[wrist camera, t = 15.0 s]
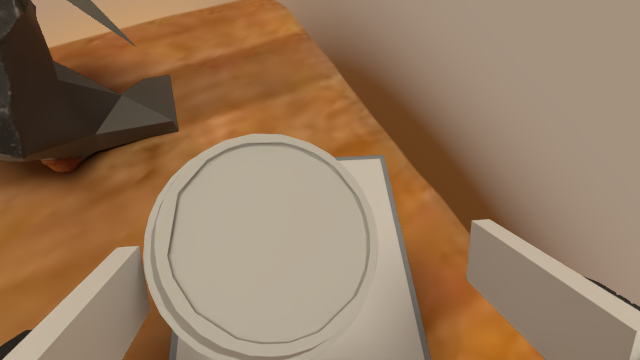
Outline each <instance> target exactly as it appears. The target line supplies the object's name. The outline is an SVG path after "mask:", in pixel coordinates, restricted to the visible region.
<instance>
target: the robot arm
mask: <svg viewBox="0 0 640 360" xmlns="http://www.w3.org/2000/svg"><path fill="white" fill-rule="evenodd" d="M466 280H467V281H468V282H469V283H470V284H471V285H472V286H473V287H474V288H475V289H476V290H477V291H478V292H479V293H480V294H481V295H482V296H483V297H484V298H485V299H486V300H487V301H488V302H489V303H490V304H491V305H492V306H493V307H494V308H495V309H496V310H497V311H498V312H499V313H500V314H501V315H502V316H503V317H504V318H505V319H506V320H507V321H508V322H509V323H510V324H511V325H512V326H513V327H514V328H515V329H516V330H517V331H518V332H519V333H520V334H521V335H522V336H523V337H524V338H525V339H526V340H527V341H528V342H529V343H530V344H531V345H532V346H533V347H534V348H535V349H536V350H537V351H538V352H539V353H540V354H541V355H542V356H543V357H544V358H545V359H546V360H640V307H639V306H637V305H636V304H631V303H630V301H629V300H627V299H626V298H624V297H622V296H620V295H617V294H616V292H614V291H612V290H611V289H609V288H607V287H606V286H604V285H602V284H600V283H599V282H596V281H594V280H591V279H589V278H586V277H584V276H581V275H580V274H578V273H576V272H575V271H573V270H571V269H570V268H568V267H567V266H565V265H563V264H561V263H560V262H558V261H557V260H555V259H553V258H552V257H550V256H548V255H547V254H545V253H543V252H542V251H540V250H539V249H537V248H535V247H534V246H532V245H530V244H529V243H527V242H526V241H524V240H522V239H521V238H519V237H517V236H516V235H514V234H512V233H511V232H509V231H507V230H506V229H504V228H503V227H501V226H499V225H498V224H496V223H494V222H493V221H491V220H490V219H487V220H473V221H472V224H471V234H470V244H469V255H468V265H467V275H466ZM150 311H151V308H150V303H149V297H148V292H147V287H146V281H145V276H144V271H143V265H142V260H141V255H140V249H139V246H132V247H119V248H116V249H115V250H114V251H113V252H112V253H111V254H110V255H109V256H108V257H107V258H106V259H105V260H104V261H103V262H102V263H101V264H100V265H99V266H98V267H97V268H96V269H95V270H94V271H93V272H92V273H91V274H90V275H89V276H88V277H87V278H85V279H84V280H83V281H82V282H81V283H80V284H79V285H78V286H77V287H76V288H75V289H74V290H73V291H72V292H71V293H70V294H69V295H68V296H67V297H66V298H65V299H64V300H63V301H62V302H61V303H60V304H59V305H58V306H57V307H56V308H55V309H54V310H53V311H52V312H51V313H50V314H49V315H48V316H47V317H46V318H45V319H44V320H42V321H41V322H40V323H39V324H38V325H37V326H36V327H35V328H34V329H33V330H26V331H24V332H22V333H21V334H19V335H17V336H16V337H14V338H13V339H11V340H10V341H8V342H6V343H5V344H3V345H2V346H1V347H0V360H122V359H123V357H124V355H125V354H126V352H127V350H128V349H129V347H130V345H131V343H132V342H133V340H134V338H135V336H136V335H137V333H138V331H139V330H140V328H141V326H142V324H143V323H144V321H145V319H146V317H147V316H148V314H149V312H150Z"/></svg>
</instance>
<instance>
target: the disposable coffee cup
mask: <svg viewBox="0 0 640 360" xmlns="http://www.w3.org/2000/svg"><path fill="white" fill-rule="evenodd" d="M377 257H378V236H377V227H376V223H375V219H374V215H373V211H372V208H371V206H370V204H369V202H368V200H367V198H366V196H365V194H364V192H363V190H362V188H361V187H360V185H359V184H358V182H357V181H356V180H355V178H354V177H353V175H352V174H351V173H350V172H349V171H348V170H347V169H346V168H345V167H344V166H343V165H342V164H341V163H340V162H339V161H337V160H336V159H335V158H334V157H333V156H331V155H330V154H329V153H327V152H325V151H324V150H322V149H320V148H318V147H316V146H314V145H312V144H311V143H309V142H306V141H303V140H299V139H296V138H292V137H289V136H285V135H280V134H250V135H245V136H241V137H237V138H233V139H229V140H225V141H222V142H220V143H218V144H217V145H215V146H213V147H211V148H209V149H207V150H206V151H204V152H202V153H200V154H199V155H198V156H196V157H195V158H193V159H191V160H190V161H188V162H187V163H186V164H185V165H184V166H183V167H182V168H181V169H180V170H179V171H178V172H176V173H175V174H174V175H173V176H172V177H171V179H170V180H169V182H168V183H167V184H166V186H165V187H164V189H163V190H162V191H161V193H160V194H159V196H158V198H157V200H156V202H155V204H154V207H153V209H152V211H151V213H150V216H149V220H148V224H147V228H146V231H145V239H144V255H143V259H144V268H145V276H146V279H147V283H148V286H149V290H150V293H151V295H152V297H153V299H154V302H155V304H156V306H157V308H158V310H159V312H160V314H161V316H162V317H163V318H164V319H165V321H166V322H167V323H168V324H169V326H170V327H171V328H172V329H173V331H174V332H175V333H176V334H177V335H178V336H179V337H180V338H181V339H183V340H184V341H185V342H186V343H187V344H189V345H190V346H191V347H192V348H194V349H195V350H196V351H197V352H199V353H201V354H203V355H206V356H208V357H210V358H212V359H214V360H306V359H308V358H310V357H312V356H314V355H316V354H318V353H320V352H322V351H323V350H324V349H326V348H327V347H328V346H330V345H331V344H333V343H334V342H335V341H336V340H337V339H338V338H339V337H340V336H341V335H342V334H343V333H344V332H345V331H346V330H347V329H348V328H349V327H350V326H351V324H352V323H353V321H354V320H355V318H356V317H357V315H358V314H359V312H360V310H361V308H362V306H363V304H364V302H365V300H366V298H367V296H368V292H369V290H370V287H371V285H372V282H373V279H374V276H375V271H376V265H377Z"/></svg>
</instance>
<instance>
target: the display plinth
mask: <svg viewBox="0 0 640 360" xmlns="http://www.w3.org/2000/svg"><path fill="white" fill-rule="evenodd" d="M334 158H335V159H336V160H337V161H339V162H340V163H341V164H342V165H343V166H344V167H345V168H346V169H347V170H348V171H349V172H350V173H351V174H352V175H353V177H354V178H355V180H356V181H357V182H358V184H359V185H360V187H361V188H362V190H363V192H364V194H365V196H366V198H367V200H368V202H369V204H370V206H371V208H372V211H373V215H374V219H375V223H376V227H377V236H378V257H377V265H376V271H375V276H374V279H373V282H372V285H371V287H370V290H369V292H368V296H367V298H366V300H365V302H364V304H363V306H362V308H361V310H360V312H359V314H358V315H357V317H356V318H355V320H354V321H353V323H352V324H351V326H350V327H349V328H348V329H347V330H346V331H345V332H344V333H343V334H342V335H341V336H340V337H339V338H338V339H337V340H336V341H335V342H334V343H333V344H331V345H330V346H328V347H327V348H326V349H324V350H323V351H322V352H320V353H318V354H316V355H314V356H312V357H310V358H308V359H306V360H431V357H430V353H429V349H428V344H427V340H426V336H425V331H424V327H423V323H422V318H421V314H420V310H419V305H418V301H417V297H416V292H415V288H414V284H413V279H412V275H411V271H410V266H409V262H408V258H407V253H406V249H405V245H404V240H403V236H402V232H401V227H400V223H399V219H398V214H397V210H396V206H395V201H394V197H393V193H392V188H391V184H390V180H389V176H388V171H387V167H386V163H385V158H384V155H375V156H354V157H334ZM169 360H214V359H212V358H210V357H208V356H206V355H203V354H201V353H199V352H197V351H196V350H195V349H194V348H192V347H191V346H190V345H189V344H187V343H186V342H185V341H184V340H183V339H181V338H180V337H179V336H178V335H177V334H176V333H175V332H174V331H173V329H172V337H171V346H170V355H169Z"/></svg>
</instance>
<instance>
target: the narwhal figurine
mask: <svg viewBox="0 0 640 360" xmlns="http://www.w3.org/2000/svg"><path fill="white" fill-rule="evenodd" d="M67 1H69V2H70V3H72V4H73V5H75V6H76V7H78V8H79V9H81V10H82V11H84V12H85V13H87V14H88V15H90V16H91V17H93V18H94V19H96V20H97V21H99V22H100V23H102V24H103V25H105V26H106V27H107V28H109V29H110V30H112V31H113V32H115V33H116V34H118V35H119V36H121V37H122V38H124V39H125V40H127V41H128V42H130V43H131V44H132V45H134V44H133V43H132V42H131V41H130V40H129V39H128V38H127V37H126V36H125V35H124V34H123V33H122V32H121V31H120V30H119V29H118V28H117V27H116V26H115V25H114V24H113V23H112V22H111V21H110V20H109V19H108V18H107V17H106V16H105V14H104V13H102V11H101V10H100V9H99V8H98V7H97V6H96V5H95V4H94V3H93V2H92V1H91V0H67ZM134 46H135V45H134ZM135 47H136V46H135ZM177 131H178V125H177V119H176V113H175V106H174V100H173V93H172V87H171V81H170V75H165V76H159V77H153V78H147V79H143V80H141V81H140V82H138V83H137V84H135V85H133V86H132V87H130V88H129V89H127V90H125V91H124V92H122V93H121V94H118V93H116V92H114V91H112V90H110V89H108V88H106V87H104V86H102V85H100V84H98V83H96V82H94V81H93V80H91V79H89V78H87V77H85V76H83V75H81V74H79V73H77V72H75V71H73V70H71V69H69V68H67V67H65V66H63V65H61V64H59V63H57V62H55V61H53V59H52V56H51V54H50V51H49V49H48V46H47V44H46V41H45V39H44V36H43V34H42V31H41V29H40V26H39V24H38V21H37V17H36V6H35V5H34V4H33V3H32V1H31V0H0V161H13V162H22V163H23V162H28V161H34V160H41V161H42V163H43V164H46V165H47V166H49V167H50V168H51V169H52V170H54V171H56V172H60V173H68V172H72V170H74V169H75V168H77V167H78V165H79V164H80V163H81V162H82V161H83V160H84V159H86V158H87V157H88V156H90V155H91V154H93V153H94V152H96V151H100V150H104V149H107V148H111V147H115V146H118V145H122V144H126V143H130V142H133V141H137V140H141V139H145V138H148V137H153V136H158V135H162V134H167V133H172V132H177Z"/></svg>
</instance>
